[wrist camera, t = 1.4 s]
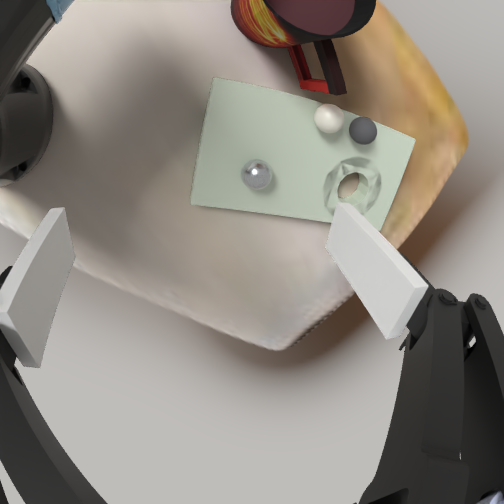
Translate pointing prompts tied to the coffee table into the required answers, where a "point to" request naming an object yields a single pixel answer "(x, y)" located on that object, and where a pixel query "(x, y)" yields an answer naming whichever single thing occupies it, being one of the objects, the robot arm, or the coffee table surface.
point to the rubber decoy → (363, 130)
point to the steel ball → (256, 174)
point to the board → (291, 157)
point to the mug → (304, 31)
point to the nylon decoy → (329, 118)
